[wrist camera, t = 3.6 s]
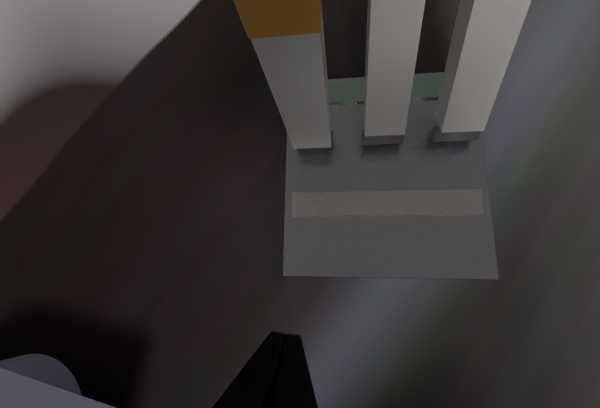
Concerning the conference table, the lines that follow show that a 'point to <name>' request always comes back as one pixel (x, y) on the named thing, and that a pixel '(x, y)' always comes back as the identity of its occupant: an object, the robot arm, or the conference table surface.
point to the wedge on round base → (40, 384)
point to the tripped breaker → (293, 64)
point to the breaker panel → (388, 198)
